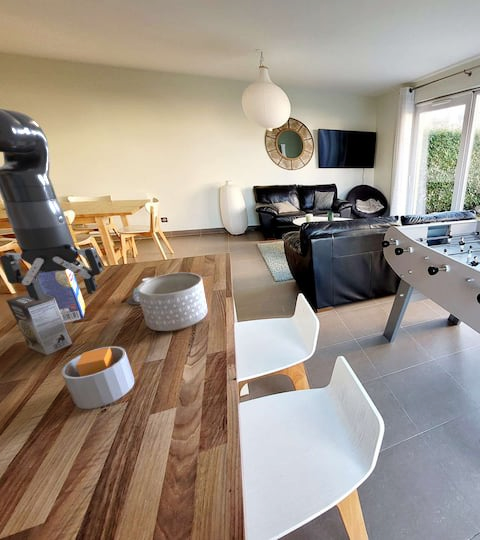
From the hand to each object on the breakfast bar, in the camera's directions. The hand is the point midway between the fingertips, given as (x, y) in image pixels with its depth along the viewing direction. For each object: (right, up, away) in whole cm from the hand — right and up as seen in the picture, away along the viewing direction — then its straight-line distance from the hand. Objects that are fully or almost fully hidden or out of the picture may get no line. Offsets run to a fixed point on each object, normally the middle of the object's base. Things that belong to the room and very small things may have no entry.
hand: (66, 295), depth 63 cm
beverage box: (-39, -11, +39) cm, 56 cm away
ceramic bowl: (+1, -24, +9) cm, 26 cm away
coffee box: (-29, -17, +23) cm, 41 cm away
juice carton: (+1, -24, +9) cm, 26 cm away
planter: (0, -12, +39) cm, 41 cm away
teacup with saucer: (-22, -6, +53) cm, 58 cm away
